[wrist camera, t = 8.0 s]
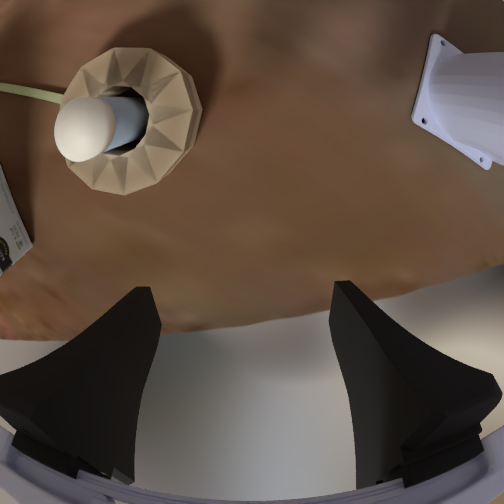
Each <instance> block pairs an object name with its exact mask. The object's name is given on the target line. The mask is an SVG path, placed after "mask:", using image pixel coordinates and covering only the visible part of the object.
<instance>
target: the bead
mask: <svg viewBox="0 0 504 504" xmlns="http://www.w3.org/2000/svg"><path fill="white" fill-rule="evenodd" d="M132 88H133V89H134V90H135V91H137V92H138V93H139V94H140V95H142V96H143V97H144V100H145V103H146V106H147V109H148V112H149V120H148V125H147V131H146V135H145V136H144V137H143V138H142V140H141V141H140V142H139V144H138V145H137V146H136V148H135V147H129V146H123V145H121V146H118V147H115V148H113V149H110V150H108V151H105V152H103V153H101V154H100V155H98V156H95V157H93V158H91V159H88V160H86V161H82V162H75V161H71V160H69V159H67V158H66V157H65V160H66V162H67V165H68V167H69V168H70V169H71V170H72V171H73V172H74V173H75V174H76V175H77V176H78V177H79V178H81V179H82V180H83V181H84V182H85V183H86V184H87V185H88V186H89V187H90V188H92V189H94V190H100V191H105V192H110V193H115V194H120V195H127V194H129V193H132V192H134V191H137V190H140V189H142V188H145V187H148V186H150V185H153V184H156V183H158V182H159V181H160V180H162V179H163V178H164V177H165V176H166V175H168V174H169V173H170V172H171V171H172V170H173V169H174V168H175V166H176V165H177V164H178V163H179V162H180V161H181V159H182V158H183V157H184V156H185V155H186V154H187V153H188V151H189V150H190V149H191V148H192V147H193V146H194V145H195V140H196V136H197V131H198V127H199V122H200V118H201V114H202V110H203V109H202V106H201V103H200V100H199V97H198V94H197V90H196V87H195V84H194V81H193V78H192V76H191V75H190V74H188V73H187V72H186V71H185V70H183V69H182V68H181V67H180V66H178V65H177V64H176V63H174V62H173V61H172V60H170V59H169V58H168V57H167V56H165V55H163V54H161V53H159V52H157V51H155V50H153V49H151V48H112V49H111V50H109V51H107V52H105V53H103V54H102V55H100V56H98V57H97V58H95V59H93V60H92V61H90V62H88V63H87V64H85V65H84V66H82V67H81V68H80V70H79V71H78V73H77V74H76V76H75V77H74V79H73V80H72V82H71V84H70V85H69V87H68V88H67V90H66V92H65V93H64V95H63V97H62V99H61V105H60V111H61V109H62V108H63V107H64V106H65V105H66V104H67V103H68V102H69V101H71V100H72V99H75V98H78V97H118V96H119V95H120V94H121V93H123V92H125V91H127V90H130V89H132Z"/></svg>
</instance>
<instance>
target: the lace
mask: <svg viewBox="0 0 504 504" xmlns="http://www.w3.org/2000/svg"><path fill="white" fill-rule="evenodd" d="M0 91H4V92H9V93H15V94H20V95H24V96H29V97H34V98H38V99H43V100H47V101H51V102H55V103H59V104H61V99H62V97H63V95H64V94H60V93H56V92H51V91H47V90H42V89H37V88H31V87H26V86H20V85H14V84H7V83H0Z"/></svg>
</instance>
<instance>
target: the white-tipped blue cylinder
mask: <svg viewBox="0 0 504 504" xmlns="http://www.w3.org/2000/svg"><path fill="white" fill-rule="evenodd" d="M148 120H149V112H148V109H147V106H146V103H145V100H144V98H140V97H78V98H75V99H72V100H71V101H69V102H68V103H67V104H66V105H65V106H64V107H63V108H62V109H61V111H60V112H59V114H58V117H57V119H56V123H55V130H54V134H55V141H56V144H57V147H58V149H59V151H60V152H61V153H62V155H63V156H64V157H66V158H67V159H69V160H71V161H75V162H82V161H86V160H88V159H91V158H93V157H95V156H98V155H100V154H101V153H103V152H105V151H108V150H110V149H113V148H115V147H118V146H121V145H124V144H126V143H129V142H132V141H135V140H138V139H141V138H143V137H144V136H145V135H146V131H147V125H148Z"/></svg>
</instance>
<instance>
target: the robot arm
mask: <svg viewBox="0 0 504 504" xmlns="http://www.w3.org/2000/svg"><path fill="white" fill-rule="evenodd" d="M441 42H442V43H443V46H442V45H441ZM411 118H412V121H413V122H414V123H415V124H417V125H418V126H420V127H422V128H424V129H425V130H427V131H429V132H430V133H432V134H434V135H435V136H437V137H439V138H440V139H442V140H444V141H445V142H447V143H448V144H450V145H451V146H453V147H454V148H456V149H457V150H459V151H460V152H462V153H463V154H465V155H466V156H467V157H469V158H470V159H472V160H473V161H474V162H476V163H477V164H478V165H480V166H481V167H482V168H484V169H486V170H489V169H490V167H491V164H492V161H494V162H496V163H499V164H501V165H503V166H504V52H486V53H469V54H464V53H462V52H461V51H460V50H459V49H457V48H456V47H455V46H453V45H452V44H451V43H449V42H448V41H447V40H445V39H444V38H442V37H441V36H440V35H438V34H433V35H431V37H430V43H429V48H428V52H427V57H426V62H425V66H424V70H423V74H422V79H421V83H420V86H419V90H418V94H417V98H416V101H415V105H414V108H413V112H412V116H411ZM422 118H424V120H425V122H424V124H423V123H422ZM480 158H481V160H480ZM161 326H162V324H161V321H160V318H159V315H158V311H157V308H156V305H155V302H154V299H153V295H152V292H151V288H150V287H135V288H134V289H133V290H131V291H130V292H129V293H128V294H127V295H125V296H124V297H123V298H122V299H121V300H120V301H119V302H117V303H116V304H115V305H114V306H113V307H112V308H111V309H109V310H108V311H107V312H106V313H105V314H104V315H103V316H101V317H100V318H99V319H98V320H97V321H95V322H94V323H93V324H92V325H90V326H89V327H88V328H87V329H86V330H84V331H83V332H82V333H80V334H79V335H78V336H76V337H75V338H74V339H72V340H71V341H69V342H68V343H66V344H65V345H63V346H62V347H60V348H58V349H57V350H55V351H53V352H51V353H50V354H48V355H47V356H45V357H43V358H41V359H39V360H37V361H35V362H33V363H30V364H28V365H26V366H24V367H21V368H19V369H16V370H13V371H10V372H8V373H5V374H2V375H0V416H1V417H2V418H3V419H5V420H6V421H7V422H8V423H9V424H10V425H11V426H12V427H13V428H14V429H16V430H17V431H16V433H15V435H13V434H12V433H10V432H9V431H7V430H6V429H4V428H3V427H1V426H0V487H1V488H2V489H3V490H4V491H5V492H6V493H8V494H9V495H10V496H11V497H12V498H13V499H15V500H16V501H17V502H18V503H19V504H116V503H115V501H114V500H117V501H121V502H124V503H128V504H488V503H490V502H491V501H492V500H494V499H495V498H496V497H497V496H499V495H500V494H501V493H503V492H504V426H502V427H500V428H499V429H497V430H496V431H494V432H492V433H490V434H489V435H487V436H486V437H484V438H483V439H481V440H480V437H479V435H478V434H480V433H481V432H482V428H481V425H480V422H481V421H482V420H483V419H484V418H485V417H486V416H487V415H488V414H489V413H490V412H491V411H492V410H493V409H494V408H495V407H496V406H497V404H498V403H499V402H500V400H501V398H502V391H501V389H500V387H499V385H498V383H497V382H496V380H495V378H494V376H493V374H491V373H488V372H485V371H482V370H479V369H476V368H473V367H471V366H468V365H466V364H464V363H462V362H459V361H457V360H455V359H453V358H451V357H449V356H447V355H445V354H443V353H441V352H439V351H438V350H436V349H434V348H432V347H431V346H429V345H427V344H426V343H424V342H423V341H421V340H420V339H418V338H417V337H415V336H414V335H412V334H411V333H410V332H408V331H407V330H405V329H404V328H403V327H402V326H400V325H399V324H398V323H396V322H395V321H394V320H393V319H392V318H390V317H389V316H388V315H387V314H386V313H385V312H384V311H382V310H381V309H380V308H379V307H378V306H377V305H376V304H375V303H374V302H373V301H371V300H370V299H369V298H368V297H367V296H366V295H365V294H364V293H363V292H362V291H361V290H360V289H359V288H358V287H357V286H355V285H354V284H353V283H352V282H351V281H350V280H347V281H335V283H334V290H333V297H332V303H331V309H330V315H329V326H330V331H331V337H332V342H333V345H334V349H335V352H336V355H337V359H338V362H339V365H340V369H341V372H342V375H343V378H344V382H345V385H346V389H347V393H348V397H349V402H350V409H351V415H352V423H353V432H354V442H355V455H356V490H353V491H348V492H343V493H338V494H333V495H326V496H319V497H312V498H303V499H292V500H278V501H226V500H211V499H201V498H192V497H184V496H177V495H172V494H165V493H160V492H155V491H150V490H146V489H141V488H137V487H133V486H129V485H130V484H132V483H133V482H134V481H135V478H134V454H135V438H136V429H137V419H138V414H139V408H140V402H141V397H142V393H143V389H144V386H145V383H146V380H147V376H148V374H149V370H150V368H151V365H152V361H153V358H154V355H155V352H156V349H157V346H158V341H159V337H160V331H161ZM113 499H114V500H113Z"/></svg>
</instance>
